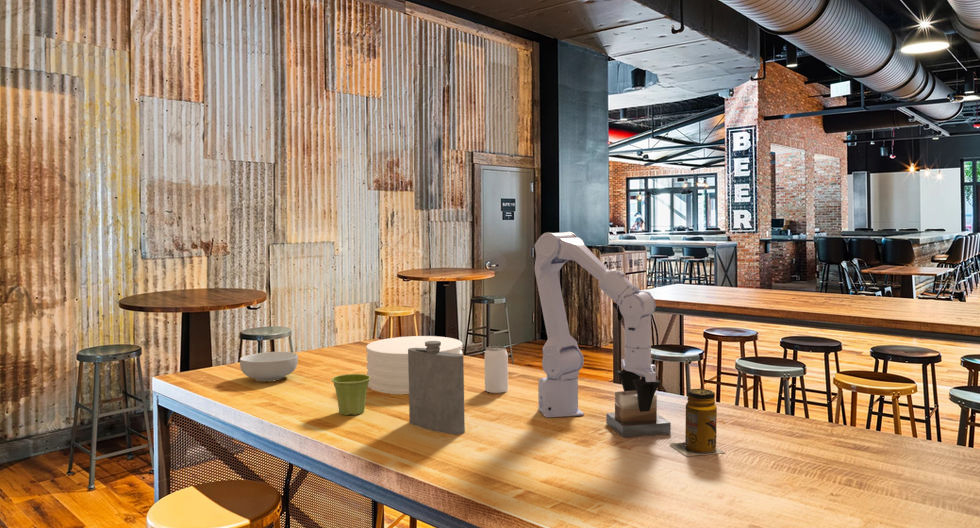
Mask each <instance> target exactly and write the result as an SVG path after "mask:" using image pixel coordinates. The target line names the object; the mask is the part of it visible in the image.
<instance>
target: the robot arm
mask: <svg viewBox="0 0 980 528" xmlns="http://www.w3.org/2000/svg"><path fill="white" fill-rule="evenodd" d="M534 250H535V262H534V274H535V279H536V284H537V289H538V290H537V291H538V295H539V301H540V306H541V309H542V316H543V321H544V326H545V332H546V335H547V340H546V342H545V343H544V345H543V347H542V361H541V366H542V369H543V371H544V373H545V375H546V376H545V377H541V378H539V380H538V386H537V387H538V391H537V392H538V406H537V409H538V411H539V412H540V413H541V414H542V415H543V416H544V417H545V418H558V417H559V418H562V417H576V416H584V412H583V411H582V410H581V409H579V375H580V370H582V369H583V366H584V362H585V361H584V360H585V359H584V358H585V357H584V355H583V352H581V350H580V348H579V345H578V341H577V340H576V339H575V338H574V337H572V335H571V334H570V328H569V323H568V319H567V314H566V313H567V312H566V307H565V303H564V298H563V292H562V288H561V283H560V282H561V281H560V277H559V271H560V270H561V269H562V267H563V266H564V264H566V263H567V262H568V261H574V262H576V263H577V264H578V265H579V266H580V267H582V268H583V269H584V270H585V271H587V272H588V273H589V274H590V275H591V276H592V277H594V278H595V279H597V281H598V284H599V285H598V287H599V289H600V290H601V291H602V292H603V293H604V294H606V296H608V297H609V298H610V299H611V300H612V301H613V302H614V303H615V304H617V306H618V308H619V312H620V314H621V316H622V318H623V322H624V323H623V324H624V358H622V359H621V361H620V362H621V364H620V366H621V370H616V374H617V376H618V378H619V380H620V383H621V385H622V389H623V391H636V392H637V396H638V405H639V410H640V411H641V412H646V411H650V408H651V404H652V400H653V397H654V394H656V392H657V390H658V388H659V386H660V385H661V381H660V379H659V380H658V379H657V378H656V377H657V373H656V372H655V371H654V369H655V370H656V369H657V366H656V365H655V364H653V363H652V315H653V313H654V312H655V311H656V307H657V305H656V300H655V298H654V297H653V295H652V294H651V292H649V291H648V290H647V291H646V290H640V287H639V286H638V285H635V284H633V283H632V282H631V281H630V280H629V279H628V278H627V277H625V276H626V274H625V272H623V271H622V270H618V269H609V268H608V267H607V266H606V265H605V264H604V263H603V262H602V261H601V260H600V259H599V258H598V257H597V256H596V255H595V254H594V253H593V252H592V251H591V250H590V249H589V247H587V246H586V245H585V243H584V240H583V239H582V238H580V237H578V236H577V235H576V234H575V233H573V232H571V231H565V232H544V233H543V234H541V235H540V236H539V237H538V239H537V241H536V242H535V243H534Z"/></svg>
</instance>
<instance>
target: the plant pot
mask: <svg viewBox="0 0 980 528" xmlns="http://www.w3.org/2000/svg"><path fill="white" fill-rule="evenodd" d="M370 379H371V377H370V376H368V375H367V374H364V373H363V374H362V373H351V374H350V373H349V374H348V373H347V374H341V375H340V374H339V375H336V376H334V377H332V378H331V382H332V383H333V386H334V389H335V394H336V400H337V407H338V411H339V412H338V413H339V414H340V415H342V416H349V415H353V416H357V415H360V414H363V413H364V412H365V410H366V408H365V407H366V402H367V401H366V400H367V393H368V392H367V391H368V384H369V380H370Z"/></svg>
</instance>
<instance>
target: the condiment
mask: <svg viewBox="0 0 980 528" xmlns="http://www.w3.org/2000/svg"><path fill="white" fill-rule="evenodd" d="M715 396H716V394H715V392H714V391H713V390H710V389H708V388H707V389H706V388H691V389H689V390H688V391H687V399H686V400H687V402H686V403H685V434H684V435H685V441H684V442H672V443H669V445H670V446H671V447H672V448H674V449H675V450H676V451H678V452H679V453H681V454H682V455H684V456H686V457H695V456H704V455H705V456H706V455H709V456H710V455H717V454H725V453H726V452H725V451H724V450H722V449H720V448H718V447H717V434H718V433H717V418H718V417H717V413H718V409H717V404H715V403H716V399H715V398H716V397H715Z"/></svg>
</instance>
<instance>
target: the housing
mask: <svg viewBox="0 0 980 528" xmlns="http://www.w3.org/2000/svg"><path fill="white" fill-rule="evenodd" d="M657 397H658V395H657V394H656V393H655V394H654V397H653V400H652V404H651V408H650V411H646V412H641V411H640V410H639V405H638V396H637V392H636V391H624V390H623V391H622V390H621V391H620V390H619V391H614V413H615V417H617V418H618V419H619V420H620V421H622V422H632V421H646V420H657V414H658V413H657V412H658V408H657V407H658V403H657V402H658V398H657Z"/></svg>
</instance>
